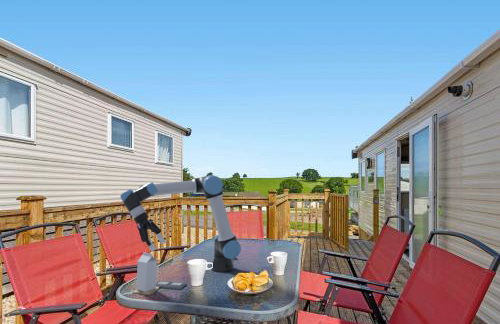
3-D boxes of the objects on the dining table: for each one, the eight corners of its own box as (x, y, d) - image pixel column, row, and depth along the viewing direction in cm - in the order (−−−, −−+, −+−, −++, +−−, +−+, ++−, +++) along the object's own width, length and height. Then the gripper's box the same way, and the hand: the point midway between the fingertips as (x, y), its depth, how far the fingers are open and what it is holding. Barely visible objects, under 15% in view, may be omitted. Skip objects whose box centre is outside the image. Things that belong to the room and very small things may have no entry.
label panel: (186, 284, 177) (186, 281, 177) (180, 289, 168) (180, 286, 168) (160, 282, 180) (160, 280, 180) (152, 287, 171) (153, 285, 171)
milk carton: (145, 292, 161) (146, 255, 162) (136, 290, 164) (137, 253, 166) (156, 288, 167) (157, 252, 168) (147, 286, 170) (148, 251, 172)
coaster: (159, 288, 170) (159, 286, 170) (150, 294, 160) (150, 293, 160) (142, 287, 171) (142, 285, 171) (132, 293, 161) (132, 291, 161)
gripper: (144, 214, 190) (162, 243, 189) (122, 223, 165) (143, 257, 164) (154, 207, 189) (172, 237, 188) (133, 215, 164) (154, 249, 163)
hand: (159, 246), depth 176 cm, fingers open, 13 cm apart
